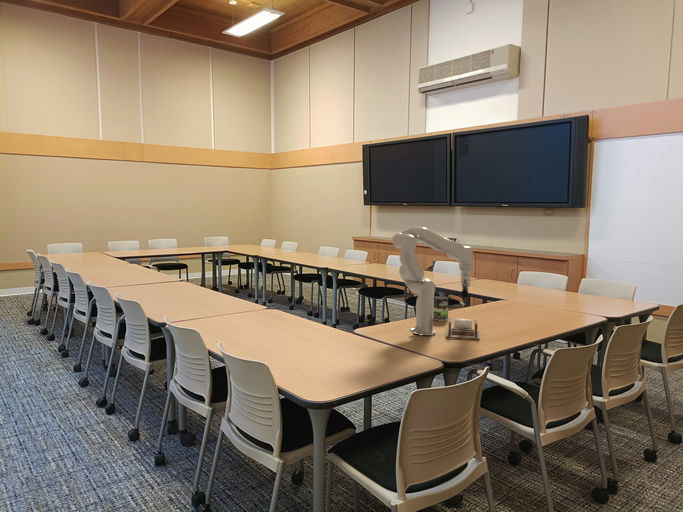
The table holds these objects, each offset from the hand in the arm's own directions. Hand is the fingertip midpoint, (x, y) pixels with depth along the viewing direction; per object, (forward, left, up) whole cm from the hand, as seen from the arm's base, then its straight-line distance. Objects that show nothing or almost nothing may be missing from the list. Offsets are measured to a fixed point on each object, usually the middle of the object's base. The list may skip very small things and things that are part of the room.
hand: (464, 295), depth 283 cm
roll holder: (-15, -12, -19) cm, 27 cm away
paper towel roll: (-2, -1, -17) cm, 17 cm away
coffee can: (+3, +22, -19) cm, 30 cm away
